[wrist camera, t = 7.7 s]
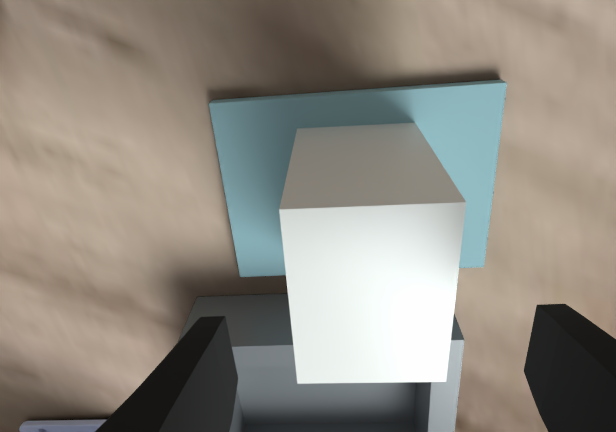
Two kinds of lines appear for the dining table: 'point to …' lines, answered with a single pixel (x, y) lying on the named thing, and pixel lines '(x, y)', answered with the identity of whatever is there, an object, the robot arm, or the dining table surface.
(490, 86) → the mat
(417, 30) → the dining table surface
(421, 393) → the case
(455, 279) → the block
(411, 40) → the dining table surface
